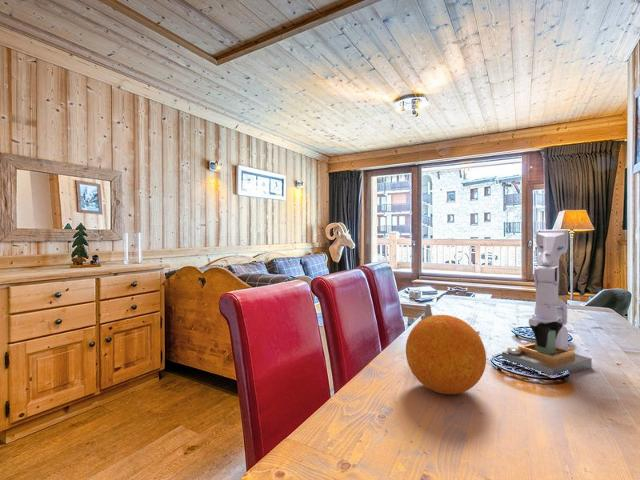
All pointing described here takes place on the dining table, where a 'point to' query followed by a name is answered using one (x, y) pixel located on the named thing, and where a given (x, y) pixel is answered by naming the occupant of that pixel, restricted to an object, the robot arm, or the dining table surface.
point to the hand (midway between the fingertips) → (545, 345)
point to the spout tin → (548, 343)
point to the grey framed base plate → (547, 359)
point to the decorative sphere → (445, 354)
